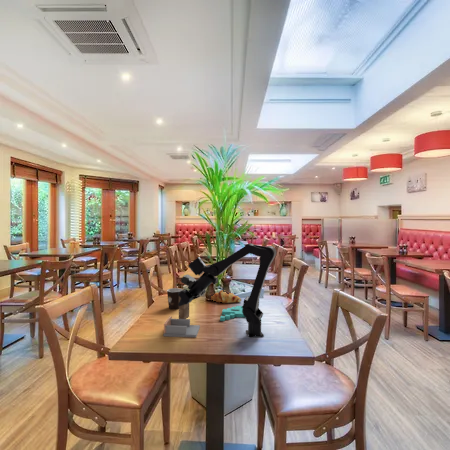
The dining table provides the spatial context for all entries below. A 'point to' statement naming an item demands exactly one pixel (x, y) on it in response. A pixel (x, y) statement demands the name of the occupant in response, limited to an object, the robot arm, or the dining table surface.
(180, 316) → the menu block
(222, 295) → the croissant
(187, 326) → the seat
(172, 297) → the coffee mug
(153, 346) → the dining table surface
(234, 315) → the alien figure
